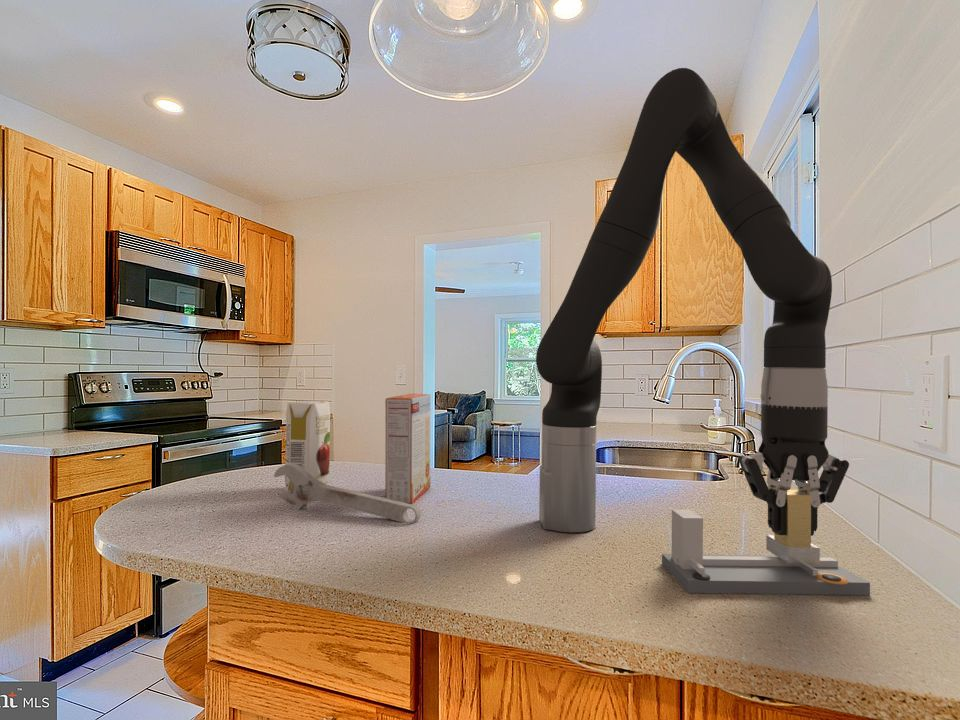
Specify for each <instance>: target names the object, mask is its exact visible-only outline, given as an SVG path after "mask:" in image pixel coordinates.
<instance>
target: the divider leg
mask: <svg viewBox="0 0 960 720" xmlns="http://www.w3.org/2000/svg"><path fill="white" fill-rule="evenodd" d="M783 507H786V534H785V535H778V534H776V533H774V532H773V534H766V539H765V540H766V542H765V543H766V544H765V545H766V546H765V547H766V551H767V552H769V553H770V554H772V555H776V556H777V557H779V558H781V559H782V560H784V561H785V562H787V563H799V567H800V568H802V569H804V570H805V571H807V572H808V573H810V574H812V575H818V569H816V568H814V567H813V566H811V565H809V564H820V556H821V554H820V553H821V549H820V547H819V546H817V545H816V544H813V543H812V536H811V495H809V494H807V493H804V492H801V491H799V490H798V489H790V490H788V491H787V494H786V502H785V505H784V506H783Z"/></svg>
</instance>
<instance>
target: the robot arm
mask: <svg viewBox="0 0 960 720" xmlns="http://www.w3.org/2000/svg"><path fill="white" fill-rule="evenodd" d="M719 110H720V109H719V107H718V102H717V99H716V98H715V96H714V94H713V93H712V91H711V90H710V88H709V87H708V85H707V84H706V82H705V80H704V79H703V78H702V77H701V75H699V74H698V73H697V72H696V71H694V70H693V69H691V68H688V67H680V68H675V69H672V70H670V71H668V72H667V73H665V74H664V75H663V76H661V77H660V78H659V80H657V82H656V83H655V84H654V85H653V86H652V88H651V89H650V91H649V93H648V95H647V96H646V99H645V100H644V103H643V106H642V109H641V112H640V114H639V117H638V120H637V124H636V126H635V129H634V132H633V136H632V139H631V141H630V145H629V147H628V151H627V153H626V155H625V159H624V160H623V161H624V162H623V164H622V165H621V169H620V171H619V172H618V176H616V179H615V180H616V181H615V182H614V184H613V186H612V189H611V192H610V194H609V197H608V199H607V201H606V203H605V206H604V208H603V210H602V212H601V214H600V216H599V218H598V220H597V223H596V225H595V226H594V230H593V232H592V234H591V236H590V239H589V240H588V243H587V245H586V248H585V250H584V253H583V256H582V257H581V260H580V262H579V264H578V267H577V269H576V271H575V273H574V276H573V278H572V281H571V283H570V285H569V288H568V291H567V293H566V295H565V297H564V299H563V300H562V303H561V305H560V307H559V308H558V310H557V312H556V314H555V316H554V317H553V318H552V321H551V322H550V324H549V326H548V328H547V329H546V331H545V333H544V334H543V337H542V338H541V340H540V342H539V345H538V347H537V349H536V353H535V354H536V355H535V363H536V368H537V371H538V373H539V375H540V377H541V378H542V379H543V380H544V381H546V382H547V383H549V384H551V391H550V397H549V399H548V401H547V402H546V405H544V407H543V409H542V414H541V419H542V420H541V465H539V497H538V498H539V501H538V504H539V506H538V507H539V508H538V510H539V511H538V519H539V521H540V524H541V526H542V529H543V530H550V531H551V530H552V531H556V532H563V533H585V532H589V531H592V530H594V529H595V528H596V517H597V513H596V507H597V506H596V502H597V500H596V499H597V497H596V496H597V493H596V492H597V480H596V479H597V420H598V419H597V416H598V413H599V410H600V406H601V399H602V381H603V380H602V378H603V375H602V374H603V359H602V358H603V357H602V352H601V349H600V347H599V344H598V343H597V341H595V336H596V335H597V331H598V329H599V326H600V324H601V322H602V320H603V318H604V316H605V314H606V312H607V311H608V310H609V308H610V307H611V305H612V304H613V303H614V302H615V301H616V299H617V298H618V297H619V296H620V295H621V294H622V292H623V291H624V290H625V289H626V288H627V286H628V285H629V284H630V283H631V281H632V280H633V279H634V277H635V276H636V274H637V272H638V271H639V270H640V268H641V265H642V263H643V262H644V259H645V257H646V255H647V253H648V251H649V250H650V247H651V244H652V242H653V240H654V238H655V236H656V233H657V230H658V226H659V221H660V216H661V210H662V201H663V195H664V194H663V193H664V185H665V181H666V176H667V172H668V169H669V166H670V165H671V162H672V160H673V157H674V155H675V153H677V155H679V156H680V158H682V159H683V160H684V161H685V162H686V163H687V164H688V165H689V166H690V167H691V169H693V171H694V172H695V173H696V175H697V176H698V178H699V179H700V181H701V183H702V184H703V186H704V189H705V191H706V194H707V195H708V197H709V199H710V203H711V204H712V206H713V208H714V210H715V212H716V214H717V215H718V217H719V219H720V220H721V222H722V224H723V225H724V226H725V228H726V230H727V231H728V233H729V234H730V236H731V237H732V239H733V241H734V242H735V244H736V245H737V246H738V247H739V248H740V251H741V254H742V256H743V259H744V262H745V264H746V267H747V269H748V272H749V273H750V275H751V277H752V279H753V281H754V282H755V284H756V285H757V287H758V288H759V290H760V291H761V293H763V294H764V295H765V296H766V297H767V298H768V299H770V300H771V301H774V304H773V305H774V306H773V317H772V324H771V325H770V326H769V327H768V328H767V329H766V330H765V332H764V337H763V370H762V371H763V372H762V379H761V383H760V384H761V385H760V389H761V391H760V392H761V393H760V435H761V443H760V446H759V447H758V451H757V452H756V453H753V454H752V453H751V454H750V455H748V456H746V455H745V454H744V455H740V456H739V457H738V463H739V465H740V468H741V470H742V473H743V474H744V477H745V479H746V481H747V483H748V486H749V488H750V491H751V493H752V495H753V496H754V497H755V498H757V499H759V500H762V501H764V502H766V504H767V526H768V527H769V528H770V529H771V531H772V533H773V534H774V533H776V534H778V535H785V534H786V507H783V506H784V505H785V502H786V494H787V491H788V490H791V487H792V483H793V481H794V484H795V485H796V486H797V490H799V491H801V492H804V493H807V494H809V495H811V537H812V536H814V535H815V532H816V531H817V530H818V508H819V507H820V506H821V505H822V504H825V503H828V504H831V503H833V502H834V501H835V498H836V497H837V494H838V491H839V490H840V487H841V485H842V483H843V481H844V478H845V476H846V473H847V472H848V469H849V467H850V463H849V461H848V460H847V459H844V458H843V459H842V458H839V457H836V456H833V455H831V454H829V450H828V449H827V447H826V440H827V439H828V420H829V419H828V416H829V415H828V413H829V412H828V410H829V409H828V408H829V407H828V402H829V401H828V399H829V397H828V396H829V395H828V393H829V392H828V391H829V389H828V385H829V384H828V379H827V373H826V372H827V371H826V362H827V361H826V353H827V352H826V351H827V349H826V347H827V346H826V328H827V325H828V321H829V312H830V308H831V300H832V294H833V293H832V292H833V281H832V273H831V270H830V268H829V266H828V264H827V263H826V262H825V261H824V260H823V259H821V258H819V257H818V256H816V255H814V254H812V253H811V252H810V251H809V250H808V249H807V247H805V245H804V243H802V242H801V240H800V239H799V238H798V237H799V236H797V234H796V233H795V232H794V230H793V229H792V228H791V227H792V226H791V223H792V222H791V220H790V217H789V215H788V214H787V211H786V210H785V208H783V206H782V205H781V203H780V201H779V200H778V198H776V196H775V194H774V193H773V192H772V191H771V189H770V188H769V186H768V185H767V184H766V183H765V181H764V180H763V178H761V176H760V175H759V174H758V172H756V171H755V169H754V168H753V167H752V166H751V165H750V164H749V163H748V162H747V160H746V159H744V157H743V156H742V154H741V153H740V152H739V150H738V149H737V147H736V145H735V144H734V142H733V140H732V138H731V137H730V135H729V131H728V129H727V128H726V125H725V122H724V121H723V118H722V114H721V112H720V111H719ZM763 463H764V464H765V466H766V467H767V469H768V473H767V478H766V480H765V478H764V474H763V472H762V470H763V469H764V466H763ZM821 468H822V469H823V470H822V472H821V473H820V476H819V473H818V471H820V469H821Z"/></svg>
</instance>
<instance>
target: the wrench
mask: <svg viewBox="0 0 960 720" xmlns="http://www.w3.org/2000/svg"><path fill="white" fill-rule="evenodd" d="M285 475H287V477H288V478H289V479H290V481H291V482H292V489H291V490H288V491H286V490H285V491H282V492H280V493H278V495H279V497H280V499H282V500H283V501H284V502H286V503H287V504H290V505H293V506H295V507H296V510H297V511H300V510H307V509H308V504H309V503H313V502H314V503H315V502H321V503H322V502H323V503H327V504H332V505H335V506H339V507H342V508H343V507H344V508H347V509H351V510H355V511H358V512H363V513H367V514H370V515H373V516H377V517H381V518H384V519H388V520H392V521H395V522H396V521H397V522H400V523H404V524H411V523H412V524H415V523H416V522H418V521H419V520H420V519H421V517H422V513H421V509H420V508H419V506H417V505H415V504H414V503H413V504H408V503H404V502H399V501H395V500H390V499H386V498H385V497H382V496H376V495H372V494H369V493H363V492H359V491H355V490H350V489H347V488H342V487H338V486H334V485H329V484H328V485H326V484H324V483H322V482H321V481H319V480H318V479H316V478H314V477H313V476H312V475H310V474H309V473H308V472H307V471H306V470H304V469H303V468H302V467H301V466H300V465H297V464H287V465H285V464H284V465H282V466H279V467H278V468H277V469H276V470H275V472H274V475H273V477H274V478H278V477H282V476H285ZM408 509H411V510H412V511H413V512H414V515H415V516H414V519H411V518H409V516H408V515H407V511H408Z"/></svg>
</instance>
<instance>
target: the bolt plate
mask: <svg viewBox="0 0 960 720" xmlns="http://www.w3.org/2000/svg"><path fill="white" fill-rule="evenodd" d="M703 543H704V517H702V516H700V515H699V514H697V513H696V512H695V511H693V510H692V509H671V553H661V565H662V566H663V568H664V569H665V570H666V571H667V572H668V573H669V574H670V575H671V576H672V577H673V579H674V580H676V581H677V582H678V584H679V585H680V586H681V587H682V588H683V589H684V590H685V592H687V593H688V594H737V593H739V594H740V593H741V594H742V593H743V595H744V593H745V595H748V594H749V595H751V594H752V595H754V594H755V593H756V594H757V593H758V594H757V595H759V594H760V595H762V594H763V595H818V596H819V595H821V596H822V595H827V596H828V595H829V596H830V595H831V596H832V595H833V596H834V595H835V596H837V595H838V596H870V595H871V583H870V582H869V580H868V581H867V580H866V579H864V578H863V577H861V576H859V575H857V574H854V573H853V572H852V571H849V570H848V569H846V568H844V567H842V566H840V565H839V561H838V560H837V559H835V558H834V557H824V556H823V555H820V564H809V565H811V566H813V567H814V568H816V569H818V575H812V574H810V573H808V572H807V571H805V570H804V569H802V568H800V567H799V563H787V562H785V561H784V560H782V559H781V558H779V557H777V556H776V555H774V554H720V553H718V554H715V553H714V554H713V553H712V554H707V553H704V549H703V548H704V544H703ZM746 593H747V594H746Z"/></svg>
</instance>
